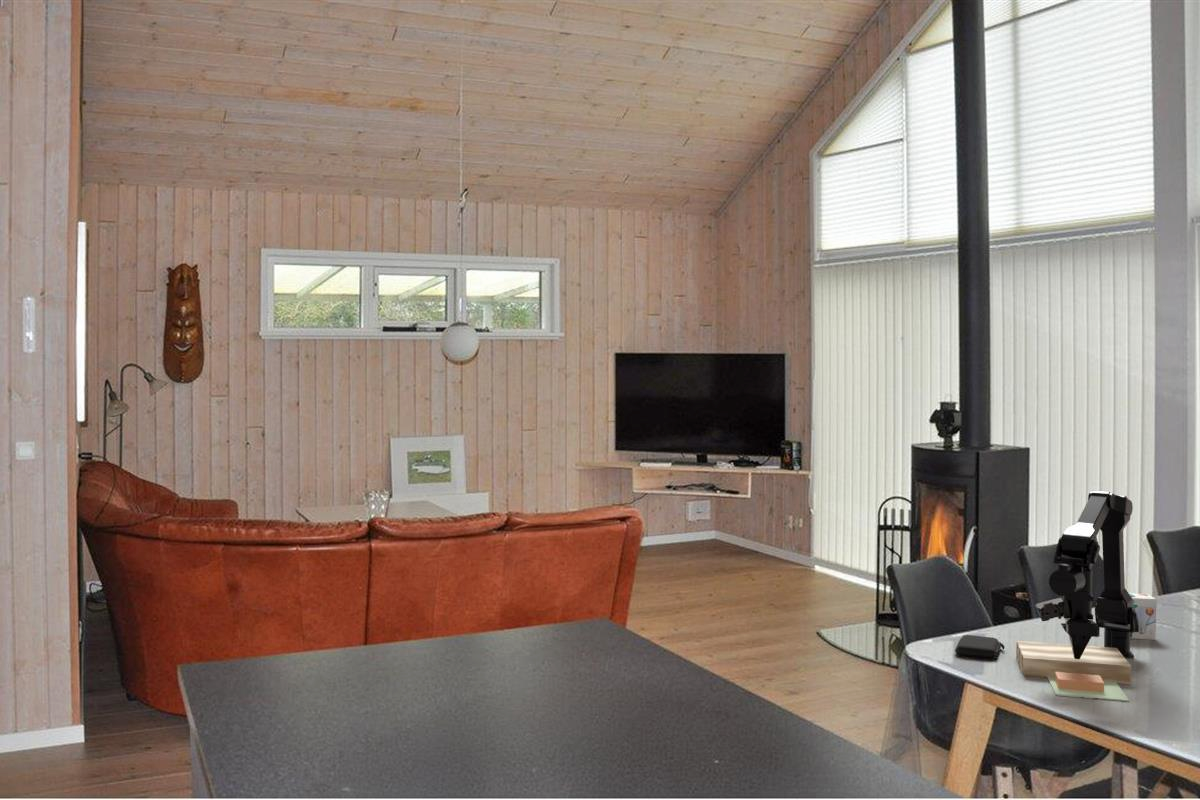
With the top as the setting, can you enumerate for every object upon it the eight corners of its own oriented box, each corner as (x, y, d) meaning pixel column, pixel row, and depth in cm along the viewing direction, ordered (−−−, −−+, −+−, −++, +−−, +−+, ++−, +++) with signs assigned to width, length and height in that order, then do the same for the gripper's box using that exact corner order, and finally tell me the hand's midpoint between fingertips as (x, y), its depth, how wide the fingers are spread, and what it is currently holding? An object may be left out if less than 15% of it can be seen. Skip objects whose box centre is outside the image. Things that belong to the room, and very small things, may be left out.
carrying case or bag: (1001, 663, 243) (1005, 649, 256) (1001, 651, 243) (1005, 637, 256) (954, 658, 247) (960, 644, 261) (954, 645, 247) (961, 632, 261)
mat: (1047, 677, 230) (1047, 675, 230) (1115, 682, 226) (1115, 681, 226) (1055, 695, 217) (1055, 693, 217) (1128, 701, 213) (1128, 700, 213)
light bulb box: (1112, 638, 267) (1113, 597, 266) (1104, 632, 273) (1105, 591, 273) (1157, 640, 265) (1157, 598, 264) (1148, 633, 271) (1148, 593, 271)
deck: (1016, 657, 247) (1016, 640, 247) (1116, 664, 241) (1116, 648, 241) (1023, 675, 232) (1023, 657, 232) (1130, 683, 226) (1131, 666, 225)
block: (1058, 679, 221) (1058, 688, 221) (1104, 683, 218) (1104, 692, 218) (1055, 671, 227) (1055, 680, 227) (1099, 675, 224) (1099, 684, 224)
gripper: (1033, 579, 240) (1033, 645, 240) (1044, 595, 222) (1043, 666, 222) (1085, 582, 236) (1085, 649, 237) (1100, 598, 218) (1099, 671, 219)
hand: (1076, 658), depth 229 cm, fingers closed
